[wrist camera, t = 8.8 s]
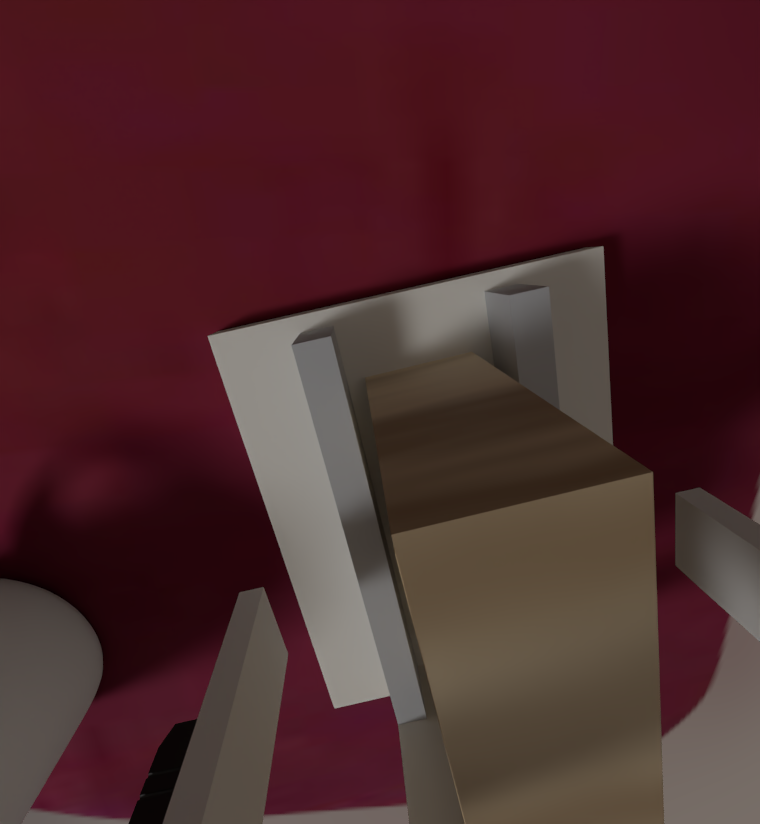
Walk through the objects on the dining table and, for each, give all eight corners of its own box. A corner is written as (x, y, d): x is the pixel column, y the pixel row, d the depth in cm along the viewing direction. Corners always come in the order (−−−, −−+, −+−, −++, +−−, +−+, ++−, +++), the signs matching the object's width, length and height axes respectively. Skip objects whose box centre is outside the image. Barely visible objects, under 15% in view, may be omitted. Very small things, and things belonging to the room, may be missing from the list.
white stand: (217, 331, 16) (-25, 448, 6) (585, 247, 16) (1027, 207, 6) (335, 685, 22) (324, 1073, 11) (608, 623, 22) (851, 953, 11)
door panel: (362, 378, 16) (384, 537, 7) (474, 351, 16) (659, 470, 7) (425, 630, 20) (496, 961, 10) (515, 608, 20) (670, 921, 10)
